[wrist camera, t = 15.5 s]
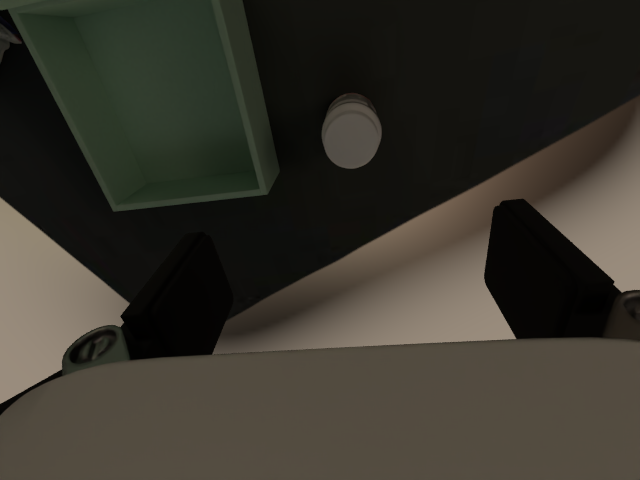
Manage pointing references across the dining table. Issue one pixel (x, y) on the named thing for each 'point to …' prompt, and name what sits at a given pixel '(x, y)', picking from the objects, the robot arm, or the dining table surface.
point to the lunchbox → (157, 96)
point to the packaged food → (7, 36)
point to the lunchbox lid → (16, 3)
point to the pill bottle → (351, 131)
